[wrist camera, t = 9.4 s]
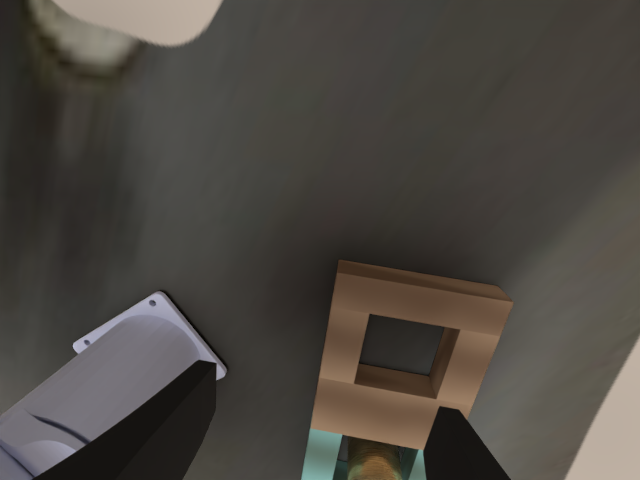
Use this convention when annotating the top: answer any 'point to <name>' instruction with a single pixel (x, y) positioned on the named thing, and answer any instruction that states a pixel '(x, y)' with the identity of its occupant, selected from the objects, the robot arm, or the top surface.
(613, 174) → the top surface
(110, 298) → the top surface
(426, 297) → the docking plate
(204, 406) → the robot arm
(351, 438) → the brass pin
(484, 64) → the top surface
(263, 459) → the top surface
